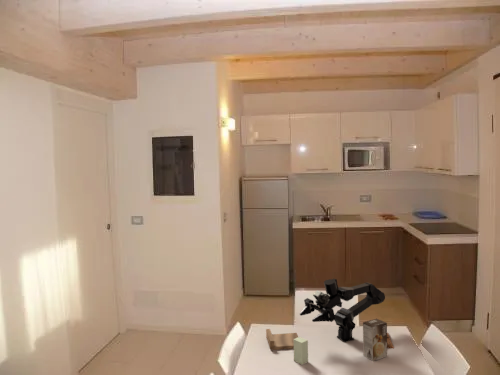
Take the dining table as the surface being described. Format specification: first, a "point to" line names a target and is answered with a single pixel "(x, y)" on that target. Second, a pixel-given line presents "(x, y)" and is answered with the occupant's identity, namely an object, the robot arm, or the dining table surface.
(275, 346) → the edge board
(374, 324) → the coffee box
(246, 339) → the dining table surface
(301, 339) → the pale green block
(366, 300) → the robot arm
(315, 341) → the dining table surface
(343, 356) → the dining table surface
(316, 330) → the dining table surface
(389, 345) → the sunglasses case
